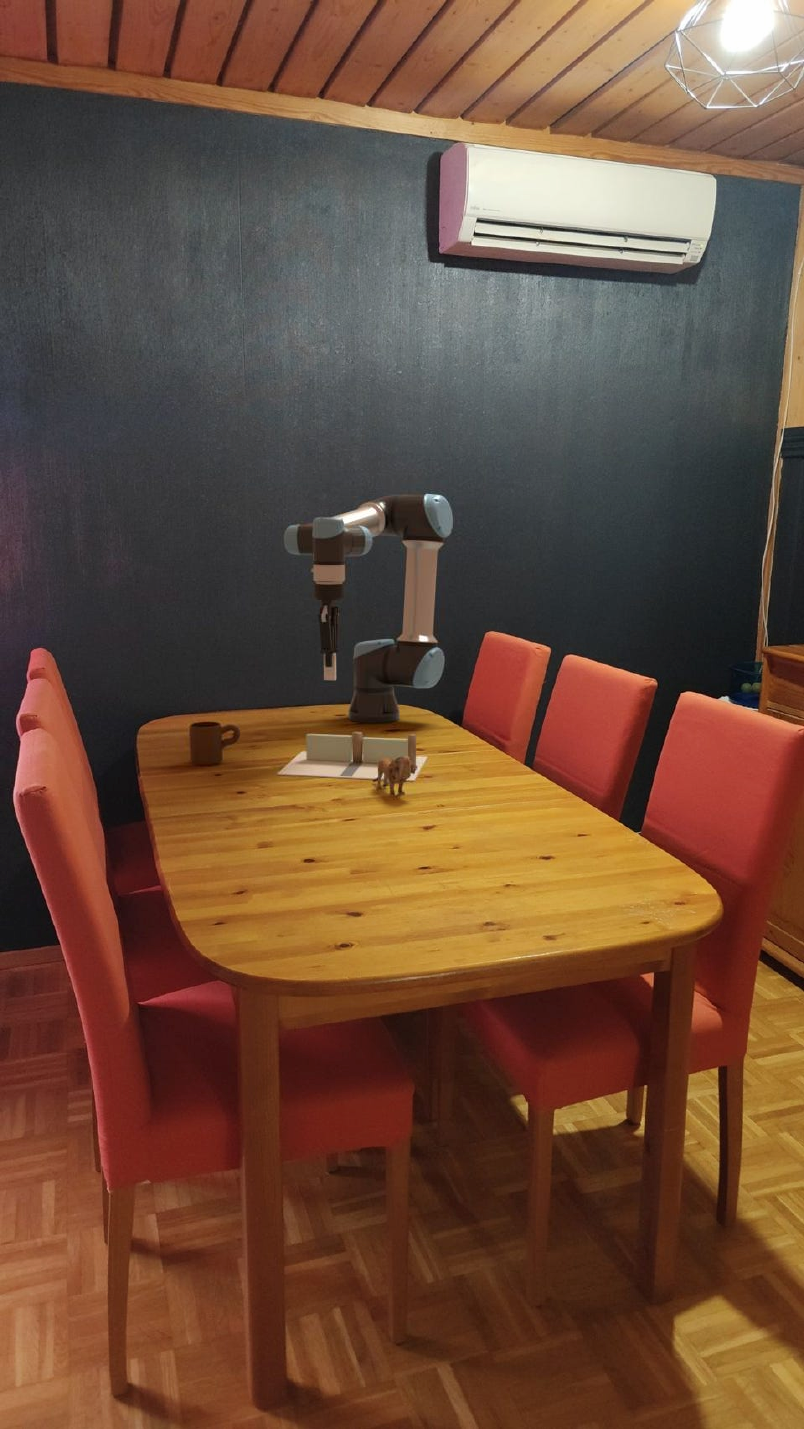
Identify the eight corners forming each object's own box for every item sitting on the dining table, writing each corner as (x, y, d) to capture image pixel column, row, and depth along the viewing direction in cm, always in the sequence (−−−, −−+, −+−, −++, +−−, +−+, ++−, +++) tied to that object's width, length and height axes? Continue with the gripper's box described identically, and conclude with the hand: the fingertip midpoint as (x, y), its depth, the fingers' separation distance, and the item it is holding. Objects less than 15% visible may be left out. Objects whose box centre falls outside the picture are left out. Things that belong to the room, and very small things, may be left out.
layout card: (302, 752, 243) (302, 751, 243) (427, 757, 238) (427, 756, 238) (276, 775, 222) (276, 773, 222) (414, 781, 217) (414, 780, 216)
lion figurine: (420, 797, 205) (420, 756, 203) (399, 801, 202) (399, 759, 200) (382, 781, 217) (382, 742, 215) (362, 785, 214) (362, 746, 212)
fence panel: (308, 757, 235) (307, 733, 234) (352, 759, 233) (352, 735, 232) (306, 759, 234) (306, 735, 232) (350, 761, 232) (350, 736, 231)
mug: (240, 757, 238) (239, 719, 236) (241, 764, 231) (240, 726, 229) (190, 759, 236) (189, 721, 234) (190, 767, 228) (189, 728, 226)
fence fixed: (353, 760, 234) (353, 731, 232) (416, 763, 231) (417, 734, 230) (351, 762, 232) (351, 733, 230) (415, 765, 229) (415, 736, 228)
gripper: (320, 580, 238) (321, 674, 243) (306, 584, 225) (308, 683, 230) (350, 581, 237) (350, 675, 241) (338, 584, 224) (339, 684, 229)
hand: (330, 679), depth 236 cm, fingers closed
